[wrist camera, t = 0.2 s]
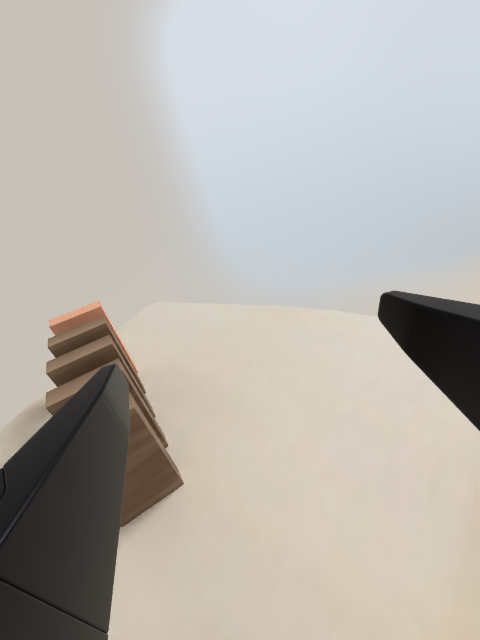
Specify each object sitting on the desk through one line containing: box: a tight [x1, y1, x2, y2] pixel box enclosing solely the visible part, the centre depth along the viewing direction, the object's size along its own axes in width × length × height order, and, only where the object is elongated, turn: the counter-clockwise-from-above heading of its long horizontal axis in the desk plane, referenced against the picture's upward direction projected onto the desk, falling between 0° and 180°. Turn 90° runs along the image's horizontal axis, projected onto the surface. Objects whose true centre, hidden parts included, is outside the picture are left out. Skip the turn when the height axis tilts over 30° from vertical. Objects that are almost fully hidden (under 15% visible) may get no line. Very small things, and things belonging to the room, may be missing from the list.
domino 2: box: [46, 359, 168, 448], centre depth 22 cm, size 2×5×10 cm, turn 122°
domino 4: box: [48, 316, 146, 393], centre depth 28 cm, size 2×5×10 cm, turn 122°
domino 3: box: [46, 335, 155, 417], centre depth 25 cm, size 2×5×10 cm, turn 122°
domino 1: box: [120, 392, 184, 526], centre depth 19 cm, size 2×5×10 cm, turn 122°
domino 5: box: [49, 301, 138, 373], centre depth 31 cm, size 2×5×10 cm, turn 122°
